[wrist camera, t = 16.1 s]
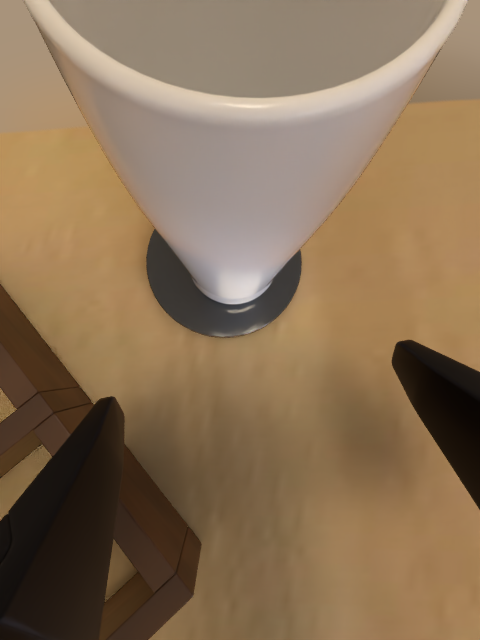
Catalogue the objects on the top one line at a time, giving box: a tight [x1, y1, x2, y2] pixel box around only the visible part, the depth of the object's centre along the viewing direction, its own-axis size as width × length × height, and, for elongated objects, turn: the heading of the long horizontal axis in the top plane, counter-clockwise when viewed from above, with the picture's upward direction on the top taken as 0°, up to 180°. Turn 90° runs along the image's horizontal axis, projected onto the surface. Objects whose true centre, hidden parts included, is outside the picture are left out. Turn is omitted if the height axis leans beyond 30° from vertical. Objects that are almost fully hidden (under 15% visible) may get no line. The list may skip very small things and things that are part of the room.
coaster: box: [146, 229, 302, 338], centre depth 19 cm, size 10×10×1 cm
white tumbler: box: [23, 0, 468, 304], centre depth 12 cm, size 7×7×15 cm
